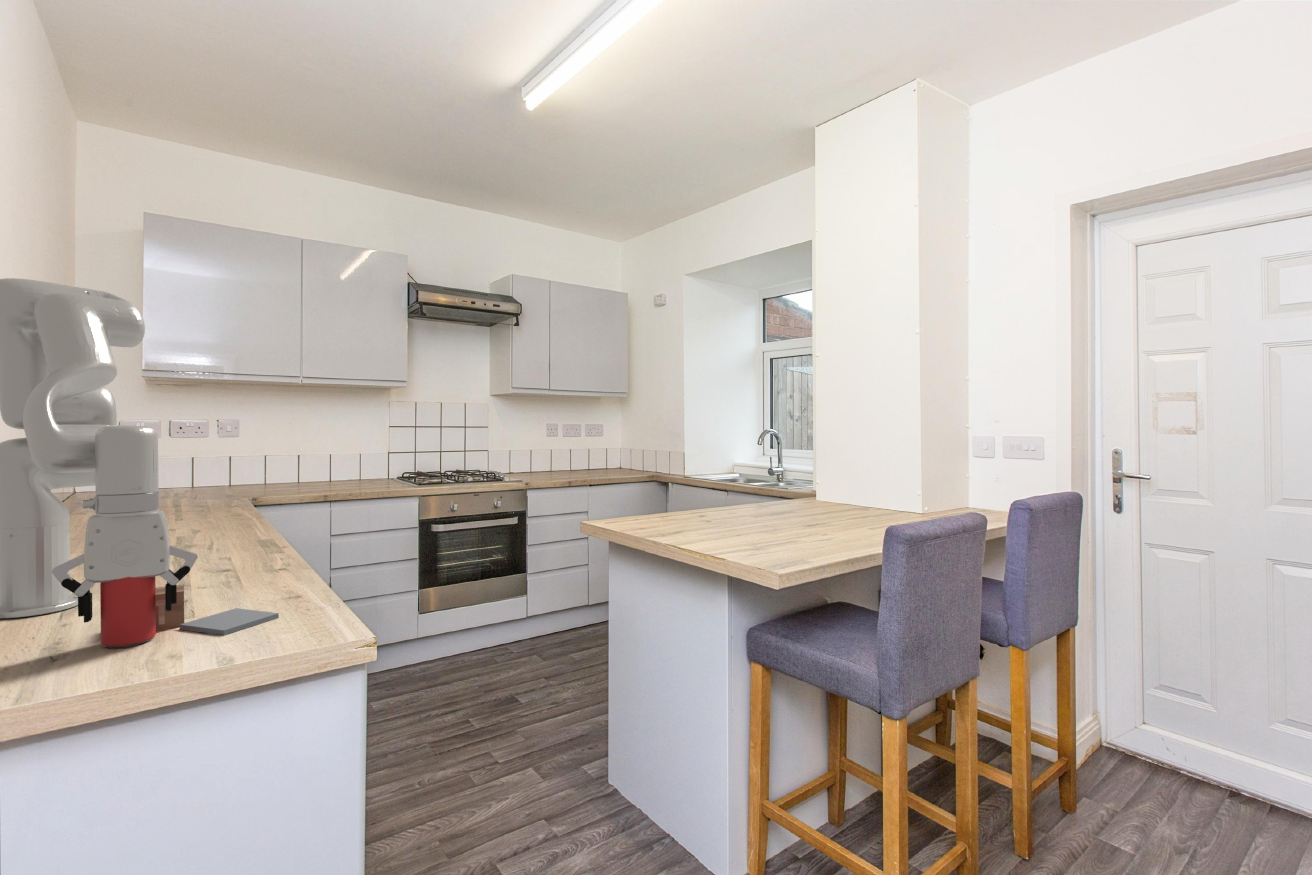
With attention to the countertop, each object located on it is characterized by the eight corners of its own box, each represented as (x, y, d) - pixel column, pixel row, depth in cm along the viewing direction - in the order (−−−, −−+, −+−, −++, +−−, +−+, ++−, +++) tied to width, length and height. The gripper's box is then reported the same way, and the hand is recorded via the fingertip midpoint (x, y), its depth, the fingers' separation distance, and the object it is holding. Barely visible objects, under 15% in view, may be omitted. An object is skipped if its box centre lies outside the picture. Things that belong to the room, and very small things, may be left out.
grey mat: (179, 629, 104) (179, 624, 104) (236, 612, 114) (236, 608, 114) (224, 635, 101) (224, 630, 101) (278, 617, 111) (278, 613, 111)
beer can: (124, 650, 94) (123, 571, 94) (89, 647, 95) (88, 569, 95) (166, 636, 101) (166, 562, 100) (133, 634, 102) (132, 560, 102)
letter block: (140, 624, 107) (139, 589, 107) (184, 617, 111) (183, 584, 111) (138, 633, 102) (137, 597, 102) (184, 626, 106) (183, 591, 106)
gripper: (47, 511, 89) (49, 631, 90) (197, 502, 100) (198, 609, 100) (55, 507, 95) (57, 619, 96) (196, 499, 106) (197, 600, 106)
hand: (129, 614), depth 98 cm, fingers open, 9 cm apart
